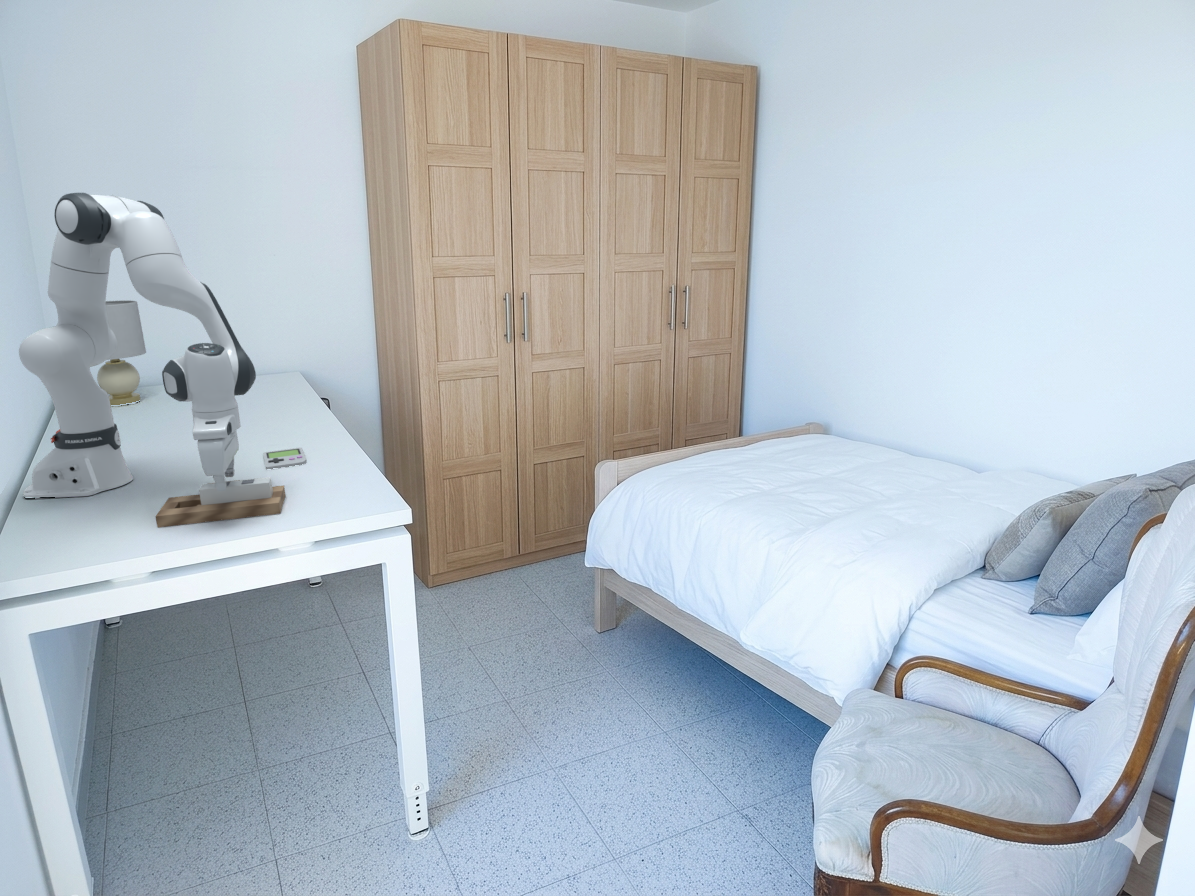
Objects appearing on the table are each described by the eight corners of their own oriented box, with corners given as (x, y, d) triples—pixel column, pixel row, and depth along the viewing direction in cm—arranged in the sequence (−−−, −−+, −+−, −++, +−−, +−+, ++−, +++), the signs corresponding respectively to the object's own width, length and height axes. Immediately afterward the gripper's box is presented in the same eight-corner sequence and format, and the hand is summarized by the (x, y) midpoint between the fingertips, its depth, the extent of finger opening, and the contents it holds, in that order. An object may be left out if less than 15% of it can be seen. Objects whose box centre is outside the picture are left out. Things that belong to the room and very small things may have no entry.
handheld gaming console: (265, 466, 200) (262, 451, 213) (266, 471, 201) (263, 456, 214) (307, 460, 204) (301, 446, 217) (307, 466, 205) (302, 451, 218)
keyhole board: (157, 527, 164) (155, 516, 163) (170, 508, 175) (168, 497, 174) (280, 513, 170) (278, 502, 169) (285, 495, 181) (284, 485, 180)
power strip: (203, 514, 169) (198, 489, 168) (206, 507, 173) (202, 483, 172) (272, 506, 173) (268, 481, 171) (274, 500, 177) (270, 476, 175)
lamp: (77, 408, 276) (54, 306, 266) (125, 395, 294) (106, 300, 284) (122, 410, 270) (101, 306, 260) (168, 398, 288) (150, 300, 278)
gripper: (210, 410, 176) (219, 469, 180) (190, 434, 157) (200, 499, 161) (241, 409, 177) (249, 467, 181) (224, 432, 158) (234, 496, 162)
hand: (226, 483), depth 171 cm, fingers open, 8 cm apart
